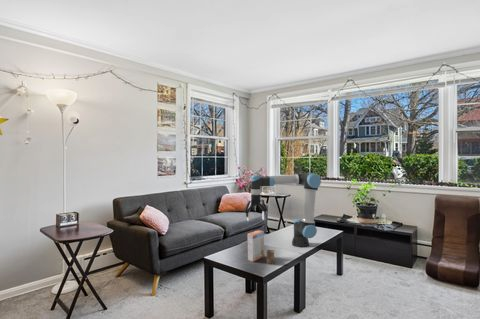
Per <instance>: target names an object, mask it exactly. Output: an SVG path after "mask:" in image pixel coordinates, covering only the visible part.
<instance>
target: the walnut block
mask: <svg viewBox="0 0 480 319" xmlns="http://www.w3.org/2000/svg"><path fill="white" fill-rule="evenodd" d="M274 263H275V249H267V250H266V265H275V264H274Z"/></svg>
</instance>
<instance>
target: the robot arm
mask: <svg viewBox="0 0 480 319" xmlns="http://www.w3.org/2000/svg"><path fill="white" fill-rule="evenodd" d="M321 184H322V180H321V177H320V176H319V174H316V173H311V172H304V173H302V172H301V173H295V174H294V175H292V174H291V175H290V174H289V175H286V174H285V175H264V176H263V175H259V174H252V175H251V177H250V194H251V195H250V199H251V200H248V199H247V201H246V202H247V203H246V205H245V208H244V210H243V212H244V213H245V217H246V222H250V211H251V210H252V209H253V207H257V206H259V208H260V209H261V210H262V211H261V216H262V217H261V219H262V220H263V221H265V216H266V212H267V211H268V207H267V206H266V204H265V200H264V199H261V188H263V187H264V188H266V187H274V186H275V185H297V186H299V185H300V186H303V190H304V191H305V193H304V205H303V215H302V218H295V219H293V237H292V241H291V245H292V246H294V247H296V248H306V247H309V246H310V242H309V239H312V238H314V237H315V236H316V235H317V232H318V230H317V227H316V222H315V218H314V216H315V207H316V205H315V203H316V195H317V194H316V193H317V191H318V190H319V187H320V186H321Z"/></svg>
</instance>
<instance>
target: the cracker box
mask: <svg viewBox="0 0 480 319" xmlns="http://www.w3.org/2000/svg"><path fill="white" fill-rule="evenodd" d="M264 258H265V231H264V230H260V229H257V230H255V231H252V232H248V233H247V261H249V262H253V263H254V262H257V261H259V260H261V259H264Z"/></svg>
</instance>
